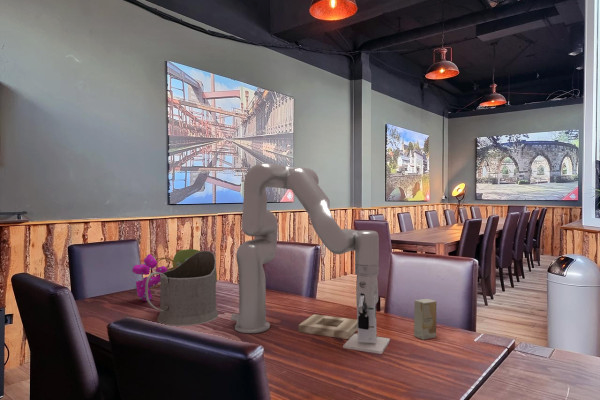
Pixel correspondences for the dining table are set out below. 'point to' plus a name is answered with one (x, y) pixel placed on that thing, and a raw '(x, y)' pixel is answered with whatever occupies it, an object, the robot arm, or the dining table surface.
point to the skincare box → (425, 318)
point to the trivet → (367, 344)
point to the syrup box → (371, 333)
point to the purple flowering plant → (158, 270)
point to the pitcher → (188, 292)
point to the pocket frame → (318, 327)
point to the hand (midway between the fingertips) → (366, 324)
